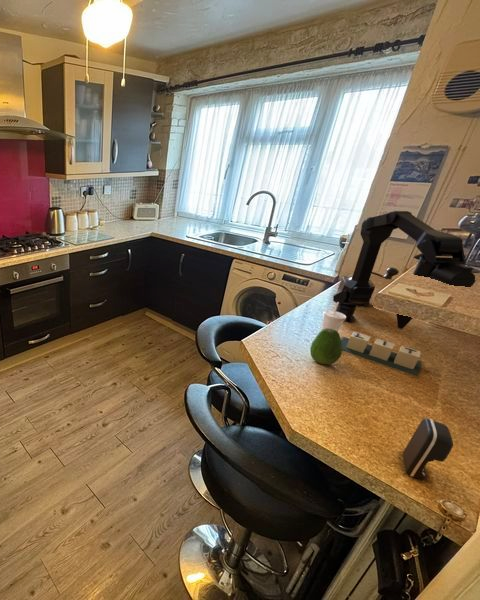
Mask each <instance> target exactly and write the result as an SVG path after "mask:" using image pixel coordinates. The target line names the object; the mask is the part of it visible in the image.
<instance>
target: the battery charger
mask: <svg viewBox="0 0 480 600" xmlns="http://www.w3.org/2000/svg"><path fill="white" fill-rule="evenodd" d="M408 441H409V442H408V443H407V444H406V446H405V448H404V449H403V451H402V458H403V460H402V461H403V465H404V472H405V474H406V475H408V476H410V477H413V478H416V479H418V480H426V479H427V477H428V476H427V471H426V466H427V464H428V463H430V462H434V461H438V462H441V463H442V462H445V461H446V460H447V458H448V456H449V455H450V453H451V451H452V450H453V447H454V441H453V437H452V434H451V431H450V429H449V427H448V426H447V425H446V424H444V423H442V422H439V421H436V420H433V419H431V418H427V417H425V418H422V420H420V422H419V424H418V426H417V427H416V429H415V431H414V432H413V434H412V435H411V437H410V439H409V440H408Z"/></svg>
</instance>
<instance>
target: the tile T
mask: <svg viewBox="0 0 480 600" xmlns="http://www.w3.org/2000/svg"><path fill="white" fill-rule="evenodd" d="M421 353H422V351H420V350H416V349H414V348H410V347H408V346H403V345H401V346H400V347H399V350H398V352H397V353H396V354H397V356H396V358H395V360H394V363H395V364H398V365H401V366H404V367H407V368H410V369H414V367H415V365H416V363H417V361H419V360H420V358H421Z"/></svg>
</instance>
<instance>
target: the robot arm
mask: <svg viewBox="0 0 480 600" xmlns="http://www.w3.org/2000/svg"><path fill="white" fill-rule="evenodd" d="M394 230H400V231H401V232H403V233H404V234H406V235H407V236H408V237H409V238H411V239H412V240H414V241H415V242H416V248H417V249H418V250H419V251H420V253H419V254H416V255H414V256H413V258H414V259H416V260H417V264H416V266H415V268H414V270H413V272H412V274H414V275H418V276H424V277H430V278H431V279H435V280H438V281H441V282H443V283H446V284H449V285H454V286H465V287H470V288H471V287H473V286H474V284H475V283H476V275H475V274H474V273H473V272H472V271H473V270H474V267H471V266H469V265H466V263H467V262H466V255H465V250H464V245H463V243H464V240H463V239H462V238H461V237H460V236H457V235H455V234H452V233H449V232H444V231H440V230H437V229H434V228H433V227H432V226H431V225H429V224H427V223H426V222H424V221H423V220H421V219H420V218H417V217H416V216H414V215H413V214H412V212H411V211H408V210H393V211H389V212H388V213H384V214H380V215H375V216H370V217H369V216H368V217H367V218H366V219H365V220H363V222H362V223H361V228H360V237H361V239H362V241H363V242H362V245H361V248H360V252H359V255H358V257H357V260H356V263H355V267H354V270H353V273H352V276H351V277H352V279H351V280H350V281H349V282H348V283H347V284H345V285H344V287H343V289H342V292H340V293H338V294H336V293H335V294H334V295H333V299H332V301H333V302H334V303H335V304H337V302H339V305H338V307H337V310H336V311H337V312H340V313H342V314H344V315H345V316H346V320H345V321H344V322H347V323H352V322H353V320H354V319H355V316H354V315H355V312H356V309H357V307H365V306H364V305H365V304H366V303H367V302H368V301H369V299H370V300H371V299H372V296H373V294H374V292H373V291H375V289H374V290H373V288H371V287H370V284H369V280H371V277H372V274H371V273H372V272H373V270H374V267H375V264H376V262H377V258H378V255H379V252H380V249H381V247H382V244H383V243H384V242H385V241H386V240H388V239H389V238H390V237H391V235H392V233H393V232H394ZM372 293H373V294H372ZM371 295H372V296H371ZM369 302H370V301H369ZM395 315H396V323H397V325H396V326H397V329H400V330H403V329H405V327H406V326H407V325H408V324H409V323H410V322H411V321H412V320H413V319H414V318H411V317H408V316H403V315H399V314H396V313H395Z"/></svg>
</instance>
